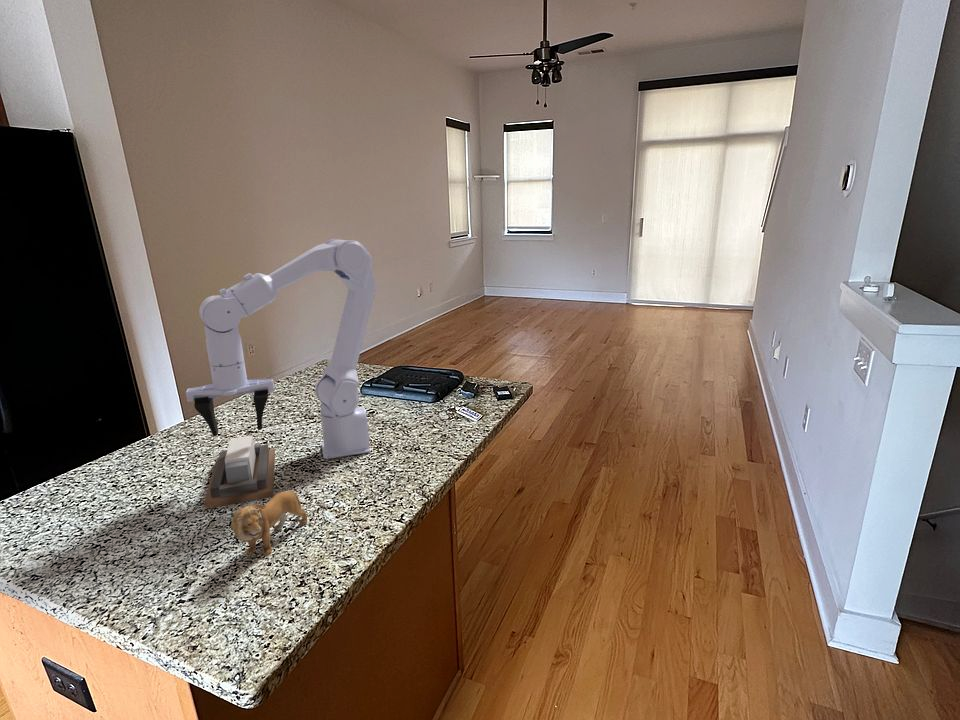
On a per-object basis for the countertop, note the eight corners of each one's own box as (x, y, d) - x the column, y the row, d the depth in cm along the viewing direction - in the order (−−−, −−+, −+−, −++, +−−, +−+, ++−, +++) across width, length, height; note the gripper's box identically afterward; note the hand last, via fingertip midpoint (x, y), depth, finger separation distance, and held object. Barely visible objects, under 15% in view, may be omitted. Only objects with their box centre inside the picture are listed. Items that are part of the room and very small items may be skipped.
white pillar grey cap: (255, 457, 104) (252, 435, 102) (251, 486, 93) (247, 461, 92) (234, 461, 103) (230, 438, 101) (227, 490, 92) (223, 465, 90)
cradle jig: (275, 453, 108) (273, 440, 107) (273, 496, 92) (271, 481, 91) (217, 463, 105) (215, 449, 104) (205, 508, 88) (202, 493, 87)
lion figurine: (260, 573, 72) (252, 518, 70) (228, 568, 73) (218, 513, 71) (315, 515, 86) (309, 467, 83) (287, 512, 87) (280, 464, 85)
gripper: (178, 373, 87) (191, 446, 91) (269, 363, 92) (278, 433, 96) (185, 362, 93) (197, 430, 97) (270, 353, 98) (279, 419, 102)
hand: (238, 431), depth 97 cm, fingers open, 7 cm apart
